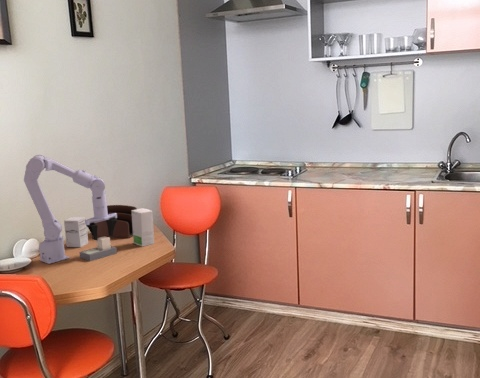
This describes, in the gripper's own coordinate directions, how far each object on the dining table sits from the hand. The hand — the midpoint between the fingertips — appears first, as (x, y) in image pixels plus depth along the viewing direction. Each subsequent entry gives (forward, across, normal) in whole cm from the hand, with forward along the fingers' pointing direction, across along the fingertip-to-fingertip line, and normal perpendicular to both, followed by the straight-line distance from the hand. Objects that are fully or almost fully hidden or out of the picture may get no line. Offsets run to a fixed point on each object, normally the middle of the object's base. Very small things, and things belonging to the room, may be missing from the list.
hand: (103, 237), depth 230 cm
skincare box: (+7, +19, -2) cm, 21 cm away
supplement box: (+7, 0, +23) cm, 24 cm away
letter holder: (+8, +22, +23) cm, 33 cm away
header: (+7, -3, 0) cm, 8 cm away
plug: (+7, 0, 0) cm, 7 cm away
